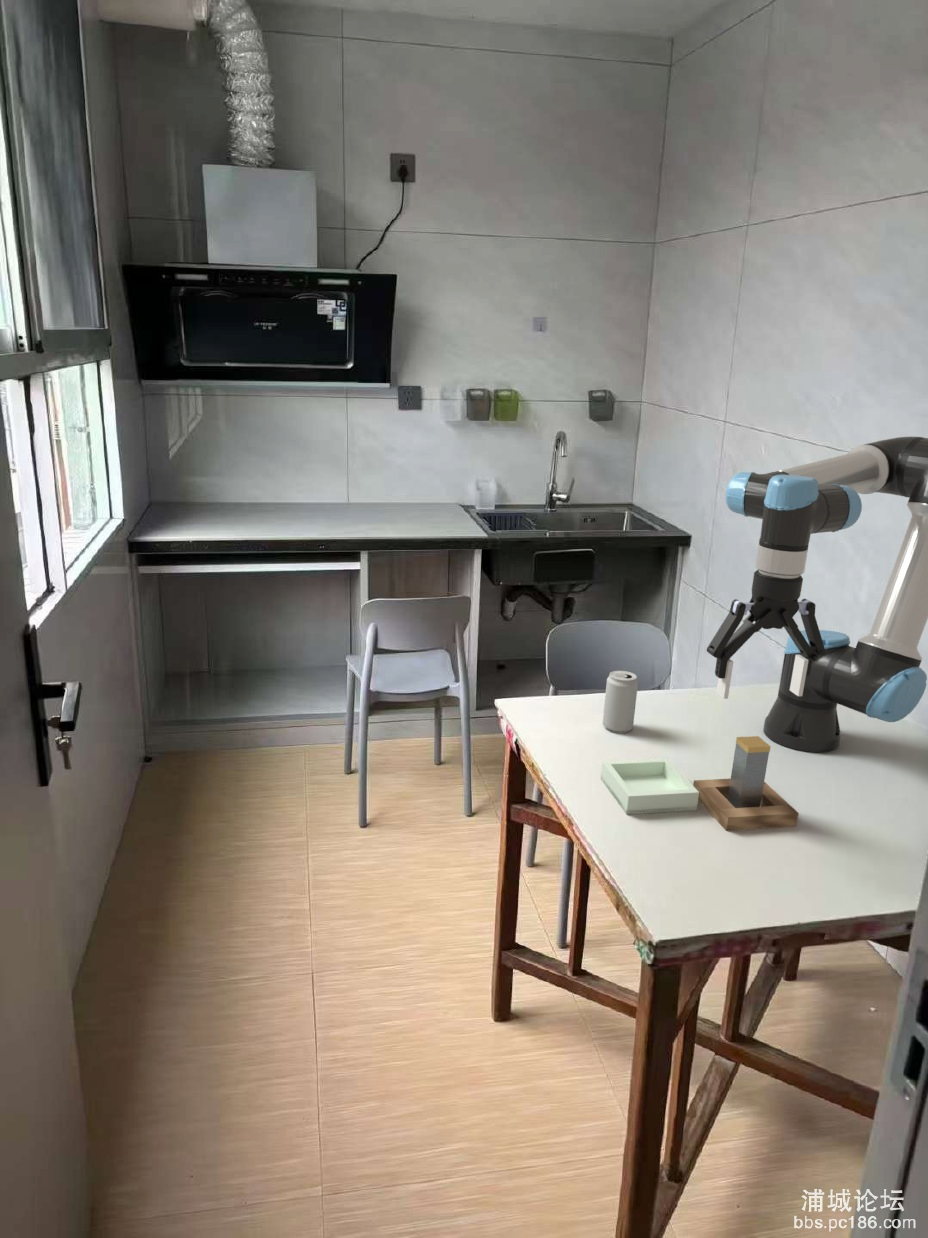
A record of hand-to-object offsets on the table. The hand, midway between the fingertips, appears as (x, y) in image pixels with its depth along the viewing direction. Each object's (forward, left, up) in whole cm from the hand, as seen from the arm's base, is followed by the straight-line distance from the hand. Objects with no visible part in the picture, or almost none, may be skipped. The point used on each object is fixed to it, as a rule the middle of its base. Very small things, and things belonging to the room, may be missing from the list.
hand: (759, 694), depth 146 cm
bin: (+15, -7, -22) cm, 27 cm away
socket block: (0, 0, -22) cm, 22 cm away
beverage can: (+10, -35, -22) cm, 42 cm away
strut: (0, 0, -22) cm, 22 cm away
